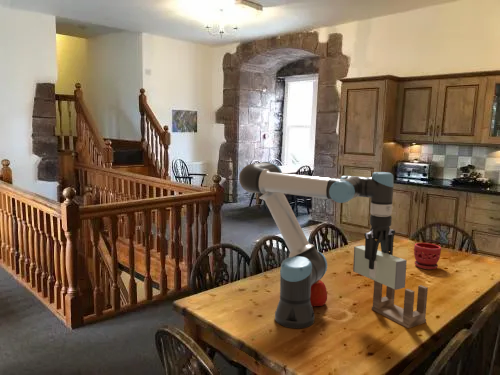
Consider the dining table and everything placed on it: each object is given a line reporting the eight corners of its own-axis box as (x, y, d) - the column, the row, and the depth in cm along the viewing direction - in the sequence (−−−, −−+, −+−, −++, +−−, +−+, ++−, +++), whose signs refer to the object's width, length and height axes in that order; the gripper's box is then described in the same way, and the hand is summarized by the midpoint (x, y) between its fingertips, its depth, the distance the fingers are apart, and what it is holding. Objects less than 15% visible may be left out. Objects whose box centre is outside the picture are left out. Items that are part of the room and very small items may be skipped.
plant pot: (442, 271, 212) (444, 249, 210) (416, 270, 214) (417, 248, 213) (435, 263, 225) (437, 242, 223) (410, 262, 227) (412, 241, 225)
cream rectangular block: (395, 289, 142) (397, 262, 140) (353, 271, 160) (354, 246, 159) (404, 287, 144) (406, 260, 142) (361, 269, 162) (362, 245, 161)
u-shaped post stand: (408, 328, 151) (410, 292, 149) (371, 309, 166) (373, 276, 164) (425, 322, 156) (428, 287, 154) (388, 304, 171) (390, 272, 169)
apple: (295, 303, 172) (296, 278, 170) (311, 295, 179) (312, 272, 178) (316, 311, 164) (317, 286, 163) (332, 303, 172) (333, 279, 170)
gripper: (370, 219, 141) (367, 283, 144) (406, 214, 150) (402, 275, 153) (355, 215, 148) (352, 276, 151) (390, 210, 156) (386, 269, 159)
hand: (377, 275), depth 152 cm, fingers closed on cream rectangular block, 4 cm apart
